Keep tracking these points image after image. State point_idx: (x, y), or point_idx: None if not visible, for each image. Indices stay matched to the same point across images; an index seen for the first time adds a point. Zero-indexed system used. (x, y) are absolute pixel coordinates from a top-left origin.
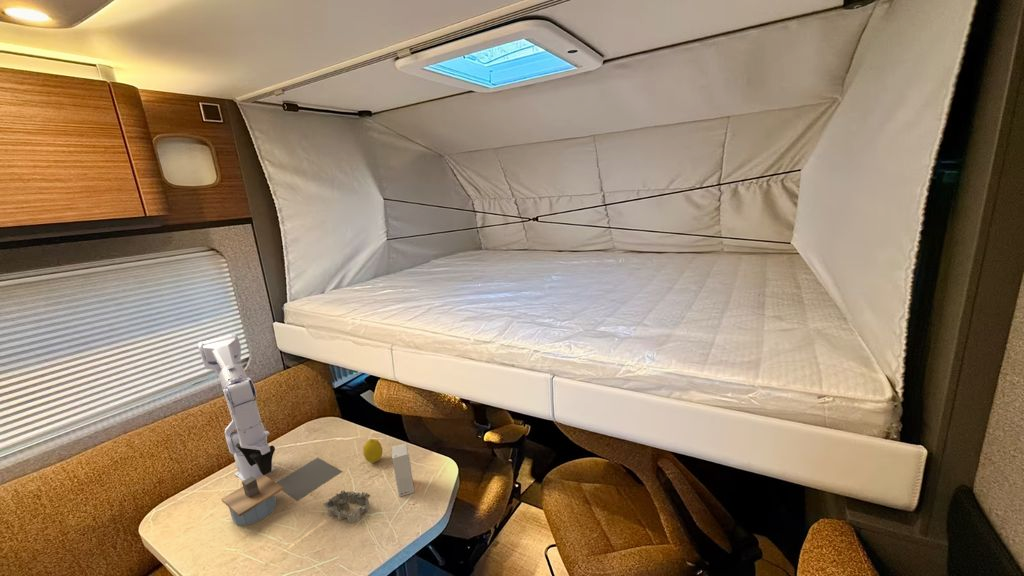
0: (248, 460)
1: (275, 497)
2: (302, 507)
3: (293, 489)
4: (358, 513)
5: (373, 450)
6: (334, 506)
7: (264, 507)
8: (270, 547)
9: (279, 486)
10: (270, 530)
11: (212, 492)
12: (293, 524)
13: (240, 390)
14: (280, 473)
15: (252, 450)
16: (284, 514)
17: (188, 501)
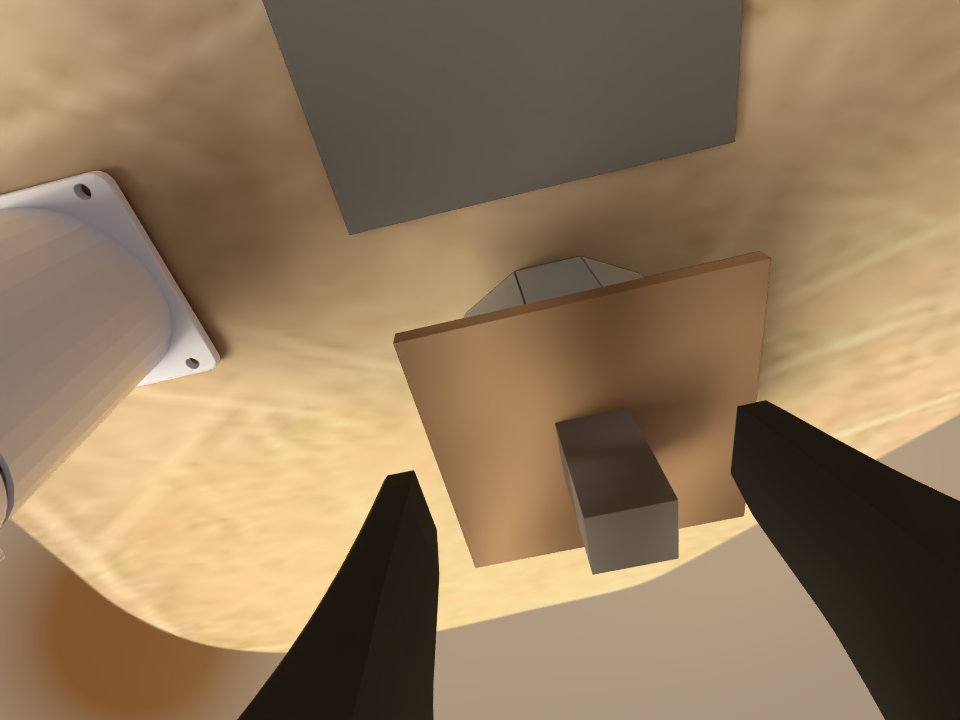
0: (436, 617)
1: (594, 271)
2: (819, 129)
3: (563, 123)
4: None
5: None
6: None
7: None
8: (917, 355)
9: (720, 278)
10: (801, 334)
11: (167, 502)
12: (902, 226)
13: None
14: (202, 145)
15: (399, 698)
16: (755, 246)
17: (184, 572)
